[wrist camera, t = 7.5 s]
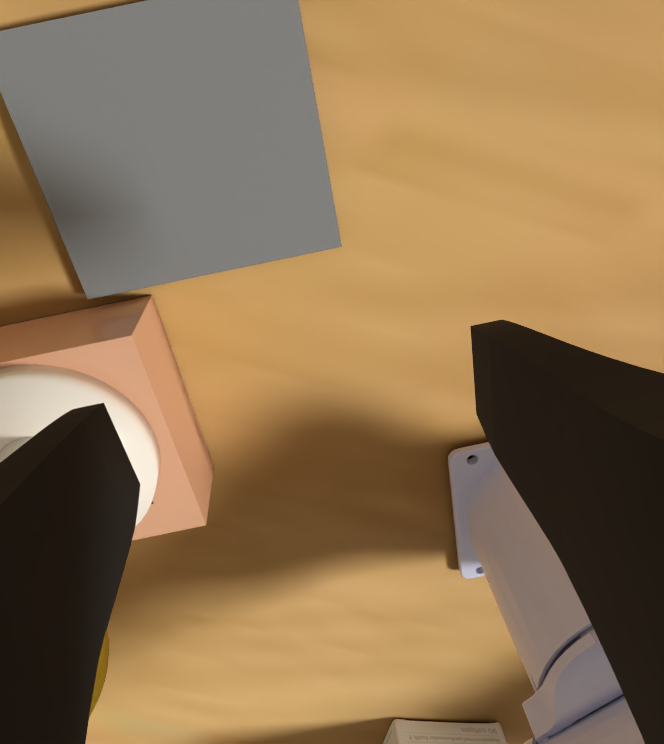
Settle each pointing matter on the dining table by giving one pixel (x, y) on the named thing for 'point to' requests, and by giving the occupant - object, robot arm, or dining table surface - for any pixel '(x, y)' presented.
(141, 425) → the lid
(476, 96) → the dining table surface
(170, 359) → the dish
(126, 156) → the mat
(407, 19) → the dining table surface
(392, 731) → the supplement box
